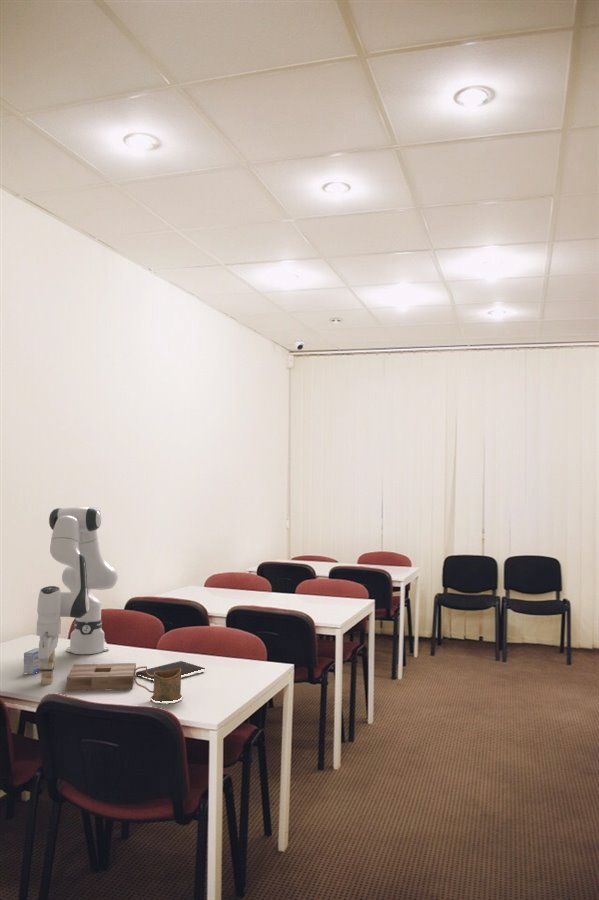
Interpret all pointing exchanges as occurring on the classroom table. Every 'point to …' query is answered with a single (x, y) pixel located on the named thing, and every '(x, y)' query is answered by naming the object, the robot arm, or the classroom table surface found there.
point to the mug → (165, 684)
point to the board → (101, 676)
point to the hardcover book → (171, 668)
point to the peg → (47, 670)
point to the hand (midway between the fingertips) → (47, 665)
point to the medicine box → (31, 661)
